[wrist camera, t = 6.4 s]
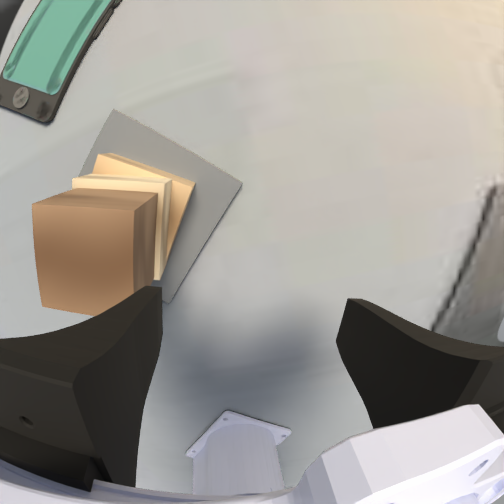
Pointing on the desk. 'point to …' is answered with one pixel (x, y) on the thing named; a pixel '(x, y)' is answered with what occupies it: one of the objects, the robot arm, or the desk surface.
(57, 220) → the walnut cube
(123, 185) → the beech block
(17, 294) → the desk surface
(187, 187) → the oak slab
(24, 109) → the smartphone
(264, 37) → the desk surface
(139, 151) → the slate coaster
